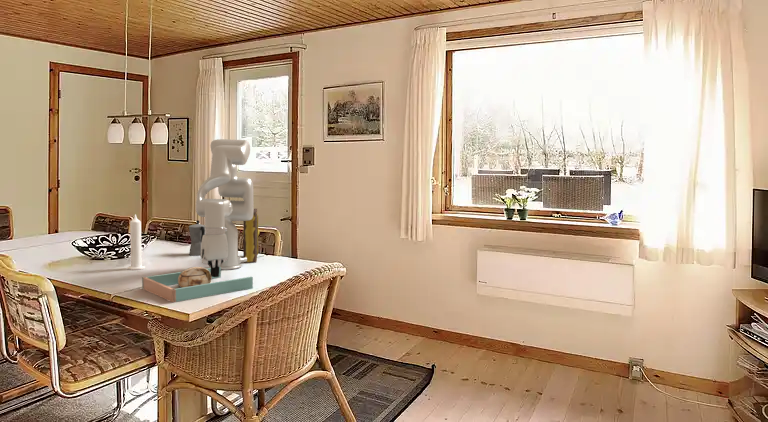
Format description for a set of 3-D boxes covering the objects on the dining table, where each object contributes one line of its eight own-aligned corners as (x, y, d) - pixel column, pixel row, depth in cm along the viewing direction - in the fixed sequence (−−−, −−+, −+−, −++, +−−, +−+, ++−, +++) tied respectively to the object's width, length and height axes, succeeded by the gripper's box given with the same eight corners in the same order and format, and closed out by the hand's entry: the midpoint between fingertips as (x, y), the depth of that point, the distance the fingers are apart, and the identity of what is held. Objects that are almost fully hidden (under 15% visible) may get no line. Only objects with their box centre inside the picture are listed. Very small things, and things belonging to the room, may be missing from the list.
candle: (138, 270, 246) (137, 215, 243) (124, 269, 247) (123, 214, 245) (148, 267, 253) (147, 213, 250) (134, 266, 254) (133, 213, 252)
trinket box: (180, 293, 210) (179, 272, 209) (175, 284, 223) (174, 265, 222) (216, 289, 216) (215, 270, 215) (208, 281, 229) (208, 263, 228)
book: (258, 262, 270) (258, 212, 268) (240, 263, 269) (241, 212, 266) (259, 254, 292) (259, 208, 289) (242, 254, 290) (242, 208, 288)
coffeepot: (185, 253, 291) (184, 219, 289) (202, 251, 296) (202, 218, 295) (194, 257, 279) (194, 222, 277) (212, 256, 284) (212, 221, 282)
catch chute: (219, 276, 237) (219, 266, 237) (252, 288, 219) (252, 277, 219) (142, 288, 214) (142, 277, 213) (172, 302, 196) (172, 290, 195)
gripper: (226, 229, 227) (226, 272, 229) (192, 231, 216) (193, 277, 218) (236, 231, 222) (236, 275, 224) (202, 234, 211) (202, 280, 213)
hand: (214, 276), depth 221 cm, fingers closed
